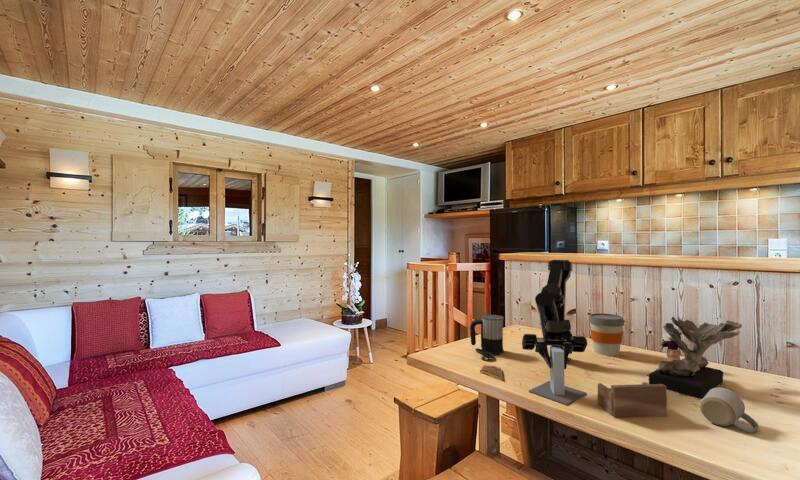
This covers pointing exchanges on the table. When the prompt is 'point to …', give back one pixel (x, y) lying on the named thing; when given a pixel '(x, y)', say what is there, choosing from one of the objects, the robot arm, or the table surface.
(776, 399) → the table surface
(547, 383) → the rubber mat
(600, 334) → the reusable coffee cup
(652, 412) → the brown wooden box
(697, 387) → the driftwood sculpture
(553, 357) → the pale grey rectangular block
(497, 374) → the shard
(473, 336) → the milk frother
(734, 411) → the ceramic mug
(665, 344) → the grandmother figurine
